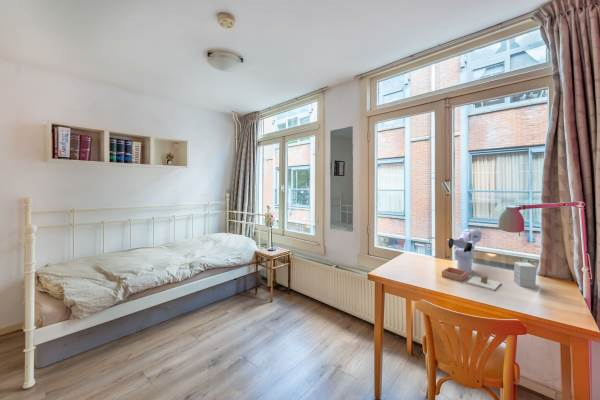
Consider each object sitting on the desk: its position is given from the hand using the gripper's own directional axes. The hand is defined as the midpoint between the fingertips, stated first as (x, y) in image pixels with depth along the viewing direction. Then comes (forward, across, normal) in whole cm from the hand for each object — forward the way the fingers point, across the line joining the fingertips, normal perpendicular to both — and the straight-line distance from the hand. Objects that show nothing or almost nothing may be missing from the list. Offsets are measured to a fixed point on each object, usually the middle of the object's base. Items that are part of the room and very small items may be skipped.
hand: (457, 248), depth 149 cm
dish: (-2, +1, +20) cm, 21 cm away
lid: (-1, +15, +18) cm, 24 cm away
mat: (-1, +16, +19) cm, 24 cm away
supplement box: (-15, +32, +19) cm, 41 cm away
